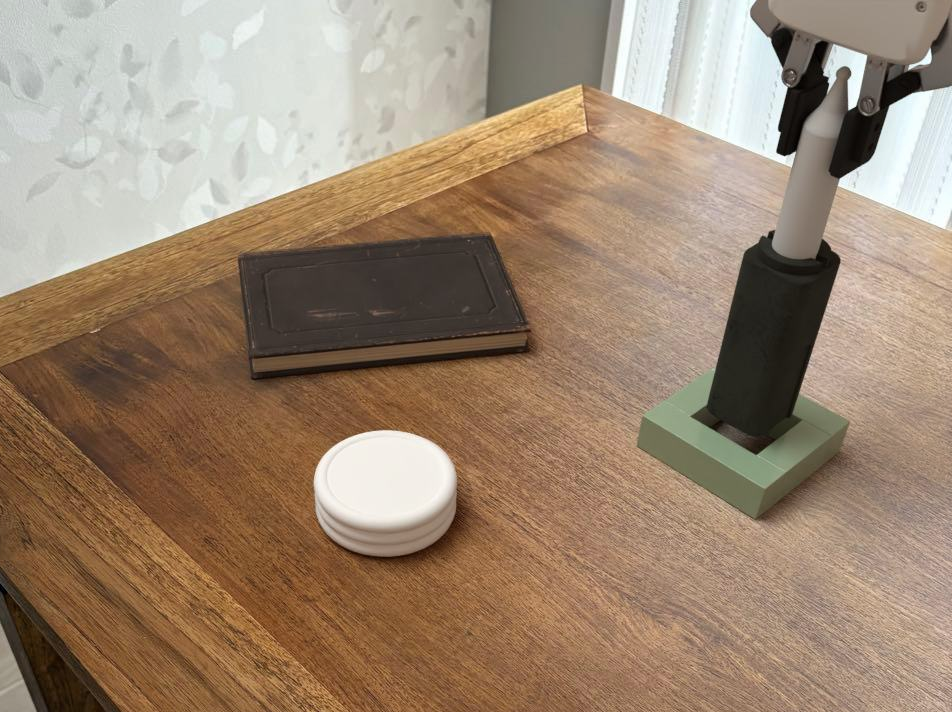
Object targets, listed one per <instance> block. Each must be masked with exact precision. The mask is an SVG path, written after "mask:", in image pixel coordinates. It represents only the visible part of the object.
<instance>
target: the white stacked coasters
mask: <svg viewBox="0 0 952 712" xmlns="http://www.w3.org/2000/svg"><path fill="white" fill-rule="evenodd" d="M312 484H313V491H314V497H313V498H314V503H315V507H314V509H315V515H316V517H317V521H318V523H319V525H320V526H321V528H322V530H323V532H325V534H326V535H327V536H328V537H329V538H330V539H331V540H332V541H333V542H335V543H336V544H338V545H339V546H341V547H342V548H345V549H346V550H349V551H352V552H354V553H356V554H357V553H358V554H361V555H364V556H365V555H366V556H371V557H380V558H382V557H385V558H387V557H388V558H389V557H400V556H406V555H409V554H413V553H416V552H419V551H422V550H425V549H426V548H427V547H430V546H432V545H433V544H434V543H436V542H438V540H440V539H441V538H442V536H444V535H445V534H446V533H447V531H448V530H449V528H450V527H451V524H452V523H453V521H454V518H455V515H456V512H457V511H456V510H457V496H458V492H457V491H458V490H457V488H458V474H457V471H456V468H455V464H454V462H453V461H452V459H451V458H450V456H449V455H448V454H447V452H446V451H445V450H444V449H443V448H441V447H440V446H439V445H438V444H437V443H435V442H433V441H431V440H430V439H427V438H425V437H424V436H420V435H418V434H414V433H412V432H411V433H410V432H406V431H400V430H391V429H389V430H387V429H386V430H385V429H384V430H372V431H366V432H362V433H358V434H355V435H352V436H349V437H347V438H345V439H343V440H340V441H339V442H338V443H336V444H335V445H333V446H332V447H331V448H330V449H328V450H327V451H326V452H325V454H324V455H323V456H322V457H321V459H320V460H319V462H318V463H317V466H316V469H315V472H314V475H313V483H312Z"/></svg>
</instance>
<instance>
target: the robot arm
mask: <svg viewBox="0 0 952 712" xmlns="http://www.w3.org/2000/svg"><path fill="white" fill-rule="evenodd" d="M749 16H750V18H751V20H752V21H753V22H754V24H755V25H756V26H757V28H759V29H760V31H761V32H762V33H763V34H764V35H765V36H766V37H767V38H769V39H770V43H771V46H772V48H773V50H774V52H775V55H776V57H777V59H778V61H779V63H780V66H781V67H782V68H781V69H782V71H781V74H780V78H781V82H782V83H783V85H784V86H785V87H787V88H786V93H785V96H784V101H783V105H782V108H781V112H780V117H779V121H778V125H777V131H778V132H779V136H778V137H779V138H778V142H777V145H776V149H775V153H776V154H777V155H780V156H782V157H787V156H791V155H792V154H794V153H796V150H797V146H798V142H799V138H800V135H801V131H802V127H803V123H804V121H805V119H806V118H807V117H808V116H809V115H810V114H811V113H812V112H813V111H814V110H815V109H816V108H818V107H819V106H820V105H821V103H822V101H823V100H824V98H825V97H826V95H827V93H828V92H829V89H830V82H829V81H830V80H829V78H830V77H829V76H826V75H824V74H825V71H824V70H825V68H826V67H827V63H828V60H829V58H830V55H831V52H832V50H833V46H834V45H835V46H838V47H840V48H844V49H847V50H850V51H853V52H855V53H857V54H858V53H859V54H861V55H865V56H866V59H865V64H864V65H865V66H864V70H863V74H862V80H861V84H860V89H859V95H858V98H857V101H856V105H855V106H854V107H852V108H850V109H848V110H849V111H847V112H846V114H845V116H844V119H843V122H842V126H841V129H840V133H839V136H838V140H837V143H836V147H835V150H834V154H833V157H832V160H831V164H830V167H829V172H830V175H831V176H833V177H835V178H838V179H842V178H843V177H845V176H847V175H848V174H850V173H852V172H854V171H855V170H857V169H858V168H860V167H861V166H863V165H865V164H867V163H869V161H871V160H872V158H873V156H874V154H875V153H876V150H877V147H878V143H879V140H880V138H881V134H882V131H883V128H884V126H885V125H884V124H885V122H886V120H887V115H888V112H889V110H890V106H892V105H894V104H895V103H897V102H899V101H901V100H903V99H904V98H906V97H908V96H911V95H912V94H917V93H924V92H925V93H926V92H929V91H930V92H931V91H935V90H942V89H947V88H950V87H952V0H755V2H753V4H752V5H751V7H750V8H749ZM929 51H930V53H931V54H930V55H931V58H930V59H931V60H930V63H926V64H918V63H921V62H922V61H923V60H925V58H926V57H927V56H928V53H929ZM915 64H917V65H915ZM910 65H911V66H912V65H915V66H913V67H912V68H910ZM909 68H910V69H909Z"/></svg>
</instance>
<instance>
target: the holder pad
mask: <svg viewBox="0 0 952 712" xmlns="http://www.w3.org/2000/svg"><path fill="white" fill-rule="evenodd" d="M715 369H716V365H715V366H714V367H712V368H711V369H709V370H707V371H706V372H704V373H702V374H701V375H699V376H697V378H695V379H694V380H693V381H690V382H689V383H688V384H686V385H685V386H684V387H682V388H680V389H679V390H677V391H676V392H674V393H673V394H672V395H670V396H669V397H667V398H665V399H664V400H663V401H661V402H659V403H658V404H657V405H655V406H653V407H652V408H651V409H649V410H647V412H645V413H643V414H642V416H641V421H640V424H639V425H640V426H639V432H638V436H637V441H636V447H638V448H639V449H641V450H643V451H644V452H646V453H648V454H649V455H651V456H652V457H654V458H656V460H659V461H661V462H662V463H664V464H665V465H667V466H669V467H670V468H672V469H673V470H675V471H677V472H678V473H680V474H682V475H683V476H685V478H688V479H689V480H691V481H692V482H694V483H696V484H697V485H699V486H701V487H702V488H704V489H705V490H707V491H709V492H710V493H712V494H714V495H715V496H717V497H718V498H720V499H722V500H723V501H725V502H726V503H728V504H730V505H731V506H733V507H735V508H737V509H738V510H739V511H741V512H742V513H744V514H746V515H747V516H749V517H751V518H753V519H754V520H757V519H758V518H760V517H761V516H762V515H763V514H764V513H765V512H767V511H768V510H769V509H770V508H772V507H773V506H774V505H776V503H778V502H779V501H780V500H781V499H783V498H784V497H786V495H788V494H789V493H791V492H792V490H794V489H795V488H796V487H798V486H799V485H800V484H802V483H803V482H804V481H805V480H806V479H808V478H809V477H810V476H811V475H813V474H814V473H815V472H816V471H817V470H819V469H820V468H821V467H822V466H823V465H825V464H826V463H827V462H829V460H831V459H832V458H833V457H834V456H835V455H837V454H838V453H839V452H840V451H841V448H842V446H843V443H844V440H845V438H846V435H847V432H848V429H849V427H850V424H851V420H849V419H847V418H846V417H844V416H842V415H840V414H838V413H837V412H834V411H832V410H831V409H828V408H827V407H825V406H823V405H822V404H819V403H817V402H816V401H814V400H812V399H810V398H808V397H806V396H805V395H804V394H801V393H799V395H798V398H797V401H796V404H795V408H794V411H793V414H792V416H791V417H790V418H785V419H783V420H782V421H781V422H779V423H778V424H777V425H775V426H774V427H773V428H771V429H770V431H769V433H768V434H767V435H766V436H767V437H769V438H771V439H773V440H774V441H773V442H772V443H770V444H769V445H768V446H766V447H765V448H763V450H761V451H760V452H758V453H757V454H755V453H754V452H752V451H750V450H748V449H747V448H745V447H743V446H741V445H740V444H738V443H736V442H734V441H733V440H732V439H730V438H727V437H726V436H724V435H723V434H722V433H719V432H717V431H716V430H714V429H712V428H711V427H713V426H714V425H716V424H717V423H718V422H720V421H721V420H720V419H718V418H717V417H715V416H713V415H712V414H711V413H710V412H709V411H708V410H707V402H708V398H709V394H710V390H711V386H712V381H713V377H714V373H715Z"/></svg>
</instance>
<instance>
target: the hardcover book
mask: <svg viewBox="0 0 952 712" xmlns="http://www.w3.org/2000/svg"><path fill="white" fill-rule="evenodd" d="M236 257H237V265H238V272H239V275H238V276H239V283H240V293H241V302H242V310H243V320H244V329H245V337H246V338H245V339H246V347H247V353H248V354H247V355H248V362H249V372H250V379H251V380H255V379H263V378H275V377H285V376H293V375H294V376H295V375H303V374H312V373H313V374H314V373H324V372H325V373H326V372H335V371H343V370H354V369H364V368H375V367H386V366H393V365H405V364H414V363H415V364H416V363H422V362H423V363H424V362H433V361H445V360H454V359H464V358H465V359H466V358H475V357H485V356H494V355H504V354H513V353H524V352H529V351H530V347H529V344H528V342H527V340H528V335H527V333H531V332H532V328H531V326H530V324H529V321H528V318H527V316H526V314H525V311H524V309H523V307H522V304H521V302H520V300H519V296H518V295H517V293H516V289H515V288H514V285H513V283H512V280H511V278H510V275H509V273H508V270H507V268H506V266H505V263H504V262H503V259H502V256H501V254H500V251H499V249H498V246H497V245H496V242H495V240H494V237H493V235H492V233H491V231H481V232H480V231H479V232H470V233H459V234H457V233H456V234H447V235H446V234H445V235H438V236H437V235H436V236H435V235H434V236H423V237H412V238H401V239H399V238H398V239H390V240H389V239H388V240H378V241H367V242H355V243H343V244H331V245H318V246H308V247H296V248H285V249H284V248H283V249H273V250H262V251H260V250H259V251H250V252H239V253H237V256H236Z"/></svg>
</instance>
